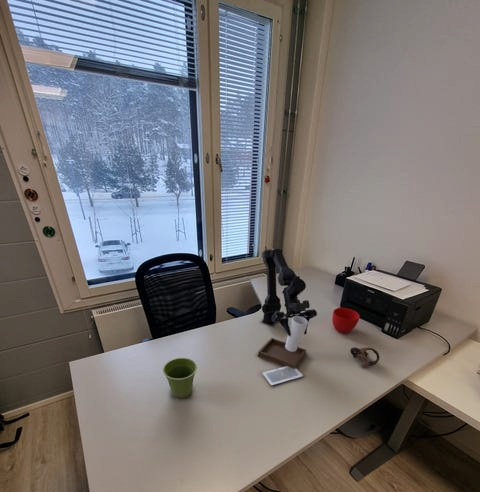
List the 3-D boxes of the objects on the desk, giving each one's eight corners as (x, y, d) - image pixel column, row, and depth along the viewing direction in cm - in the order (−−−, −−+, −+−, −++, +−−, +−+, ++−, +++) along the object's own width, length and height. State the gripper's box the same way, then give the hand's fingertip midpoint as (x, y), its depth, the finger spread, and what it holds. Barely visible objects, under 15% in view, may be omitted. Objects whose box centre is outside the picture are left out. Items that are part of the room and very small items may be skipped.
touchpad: (302, 378, 109) (303, 373, 108) (270, 387, 104) (271, 383, 103) (292, 366, 115) (293, 362, 114) (261, 374, 110) (262, 370, 109)
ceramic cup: (346, 320, 152) (350, 304, 147) (359, 336, 137) (364, 319, 132) (324, 320, 151) (327, 304, 146) (334, 336, 136) (338, 319, 131)
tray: (258, 356, 120) (258, 351, 119) (271, 341, 130) (271, 337, 129) (294, 370, 112) (295, 365, 111) (305, 354, 123) (306, 349, 121)
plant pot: (183, 408, 93) (181, 384, 87) (159, 394, 98) (155, 370, 92) (204, 388, 102) (203, 365, 96) (181, 376, 107) (179, 353, 101)
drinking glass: (301, 350, 117) (311, 322, 110) (291, 355, 113) (301, 326, 105) (289, 342, 121) (298, 314, 114) (279, 346, 117) (288, 317, 109)
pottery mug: (372, 357, 123) (382, 349, 116) (369, 374, 119) (380, 368, 111) (347, 346, 124) (356, 338, 117) (343, 363, 120) (352, 357, 113)
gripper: (276, 294, 106) (282, 333, 102) (319, 292, 110) (327, 329, 106) (268, 303, 116) (274, 338, 113) (308, 300, 120) (314, 334, 117)
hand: (297, 335), depth 112 cm, fingers closed on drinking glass, 7 cm apart
